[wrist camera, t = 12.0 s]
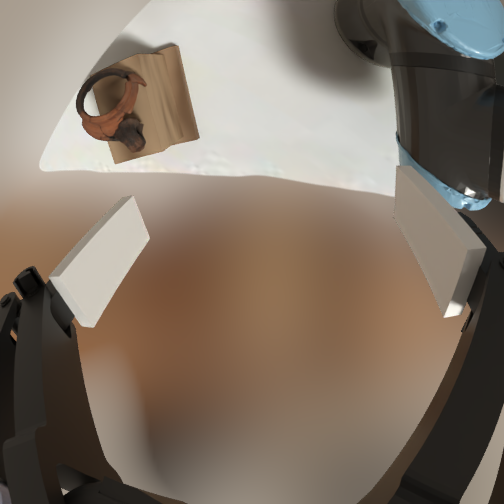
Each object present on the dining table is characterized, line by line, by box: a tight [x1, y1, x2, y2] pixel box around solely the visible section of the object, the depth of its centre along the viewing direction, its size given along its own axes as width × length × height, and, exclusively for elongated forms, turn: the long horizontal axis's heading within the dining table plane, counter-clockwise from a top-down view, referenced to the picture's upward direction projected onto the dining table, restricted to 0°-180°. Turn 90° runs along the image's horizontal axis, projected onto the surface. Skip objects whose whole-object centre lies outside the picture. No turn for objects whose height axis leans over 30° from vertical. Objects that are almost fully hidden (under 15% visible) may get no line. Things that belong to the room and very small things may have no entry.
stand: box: [90, 46, 200, 164], centre depth 35 cm, size 12×16×10 cm
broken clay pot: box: [76, 68, 147, 153], centre depth 29 cm, size 12×9×8 cm
